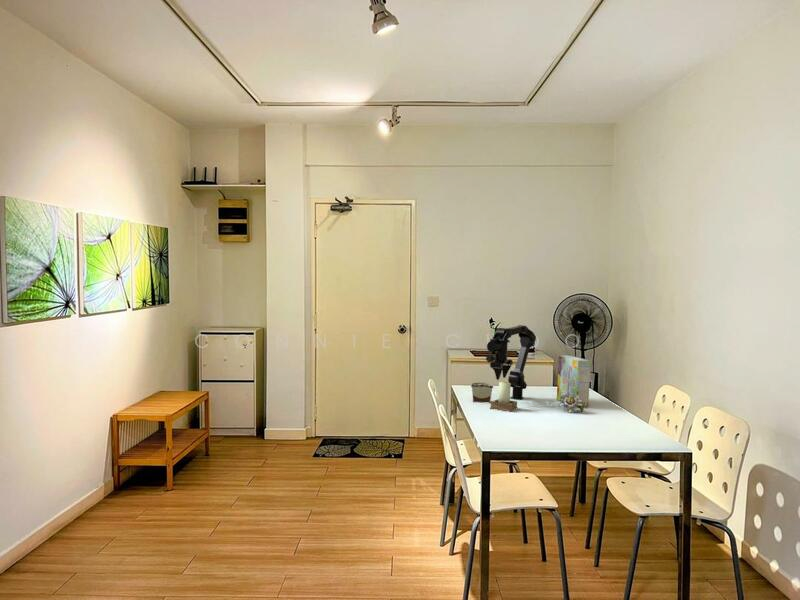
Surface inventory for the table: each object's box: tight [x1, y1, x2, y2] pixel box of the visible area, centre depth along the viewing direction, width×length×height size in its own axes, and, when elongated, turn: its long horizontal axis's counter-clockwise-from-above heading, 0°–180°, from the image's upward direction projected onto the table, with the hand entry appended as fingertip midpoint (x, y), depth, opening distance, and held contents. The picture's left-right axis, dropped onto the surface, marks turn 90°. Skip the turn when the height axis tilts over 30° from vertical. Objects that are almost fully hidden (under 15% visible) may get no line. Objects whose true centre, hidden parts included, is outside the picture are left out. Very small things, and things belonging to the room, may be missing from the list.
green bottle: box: [497, 381, 511, 404], centre depth 303 cm, size 6×6×13 cm
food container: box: [470, 382, 494, 403], centre depth 320 cm, size 12×6×10 cm, turn 84°
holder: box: [489, 398, 518, 413], centre depth 304 cm, size 11×11×4 cm
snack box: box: [556, 355, 592, 408], centre depth 323 cm, size 22×9×26 cm, turn 14°
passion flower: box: [558, 392, 585, 414], centre depth 303 cm, size 11×11×12 cm
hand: (500, 378), depth 319 cm, fingers open, 9 cm apart
